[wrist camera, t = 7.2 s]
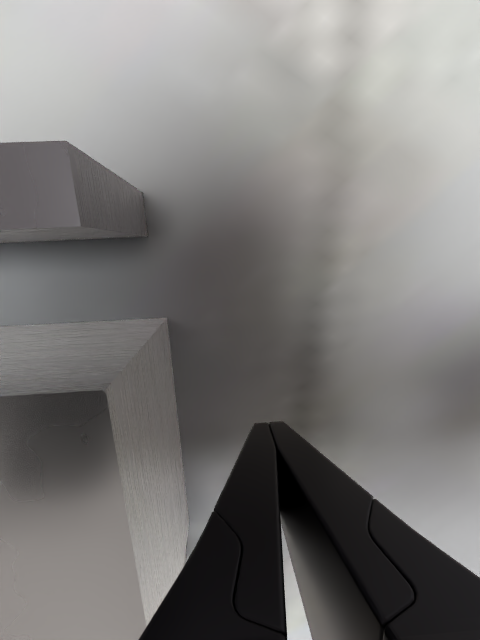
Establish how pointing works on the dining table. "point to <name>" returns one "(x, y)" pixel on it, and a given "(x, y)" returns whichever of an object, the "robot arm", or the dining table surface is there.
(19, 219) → the grey u-shaped frame
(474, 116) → the dining table surface
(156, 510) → the block
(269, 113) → the dining table surface
